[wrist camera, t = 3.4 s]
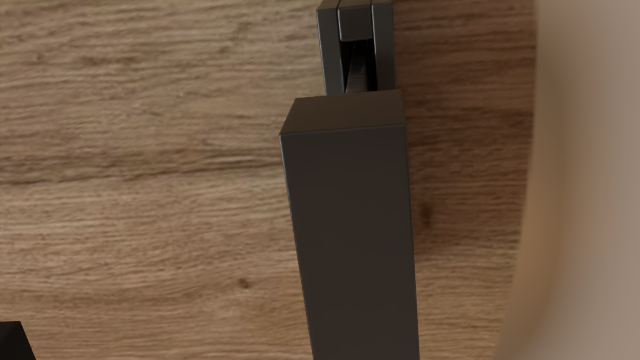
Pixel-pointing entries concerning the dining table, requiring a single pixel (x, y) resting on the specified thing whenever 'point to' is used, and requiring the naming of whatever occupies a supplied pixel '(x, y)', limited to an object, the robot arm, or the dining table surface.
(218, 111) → the dining table surface
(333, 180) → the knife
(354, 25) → the knife block
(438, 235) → the dining table surface
